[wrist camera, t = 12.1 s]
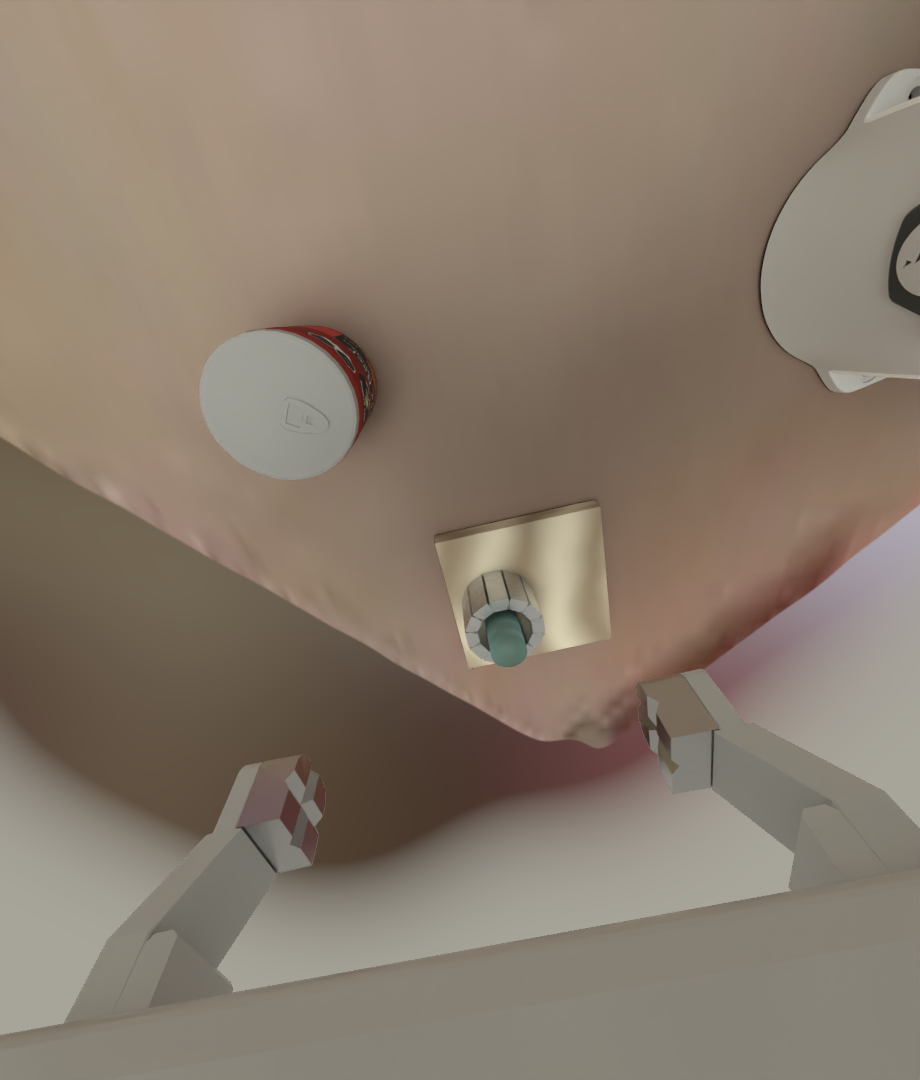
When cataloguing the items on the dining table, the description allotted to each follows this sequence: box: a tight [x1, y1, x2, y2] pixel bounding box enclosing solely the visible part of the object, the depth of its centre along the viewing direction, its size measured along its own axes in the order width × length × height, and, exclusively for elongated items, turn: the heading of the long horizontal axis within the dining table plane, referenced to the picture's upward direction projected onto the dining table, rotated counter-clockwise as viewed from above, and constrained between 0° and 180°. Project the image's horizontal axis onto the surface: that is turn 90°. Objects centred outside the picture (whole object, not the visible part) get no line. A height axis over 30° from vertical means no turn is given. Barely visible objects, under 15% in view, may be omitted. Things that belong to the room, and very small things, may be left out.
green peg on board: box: [435, 500, 611, 669], centre depth 38 cm, size 14×14×8 cm
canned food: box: [199, 326, 377, 480], centre depth 28 cm, size 8×8×11 cm
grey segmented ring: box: [461, 570, 545, 663], centre depth 39 cm, size 6×6×4 cm
